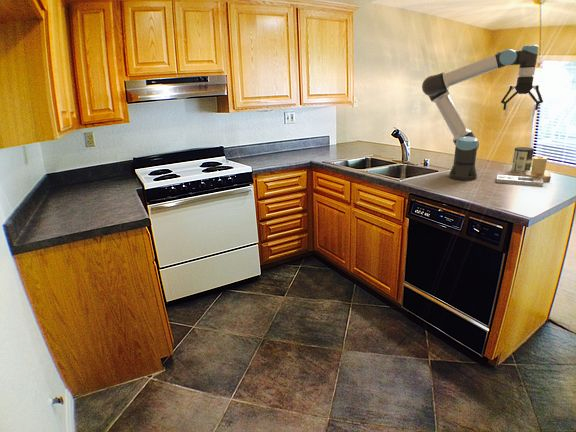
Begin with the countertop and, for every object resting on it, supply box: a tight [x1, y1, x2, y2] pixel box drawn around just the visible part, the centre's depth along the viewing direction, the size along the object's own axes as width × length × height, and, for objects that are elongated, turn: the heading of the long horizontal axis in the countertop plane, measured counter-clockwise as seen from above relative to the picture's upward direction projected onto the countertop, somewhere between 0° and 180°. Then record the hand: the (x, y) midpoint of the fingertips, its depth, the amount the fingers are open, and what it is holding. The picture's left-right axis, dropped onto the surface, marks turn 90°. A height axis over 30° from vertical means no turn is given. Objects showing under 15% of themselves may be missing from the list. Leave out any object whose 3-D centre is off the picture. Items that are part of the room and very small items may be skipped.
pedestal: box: [523, 169, 552, 182], centre depth 216 cm, size 12×12×3 cm
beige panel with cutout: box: [495, 174, 544, 187], centre depth 210 cm, size 22×11×2 cm, turn 60°
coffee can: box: [510, 146, 535, 174], centre depth 231 cm, size 10×10×14 cm
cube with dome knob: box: [530, 155, 548, 175], centre depth 214 cm, size 6×6×9 cm
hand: (518, 116), depth 212 cm, fingers open, 13 cm apart
